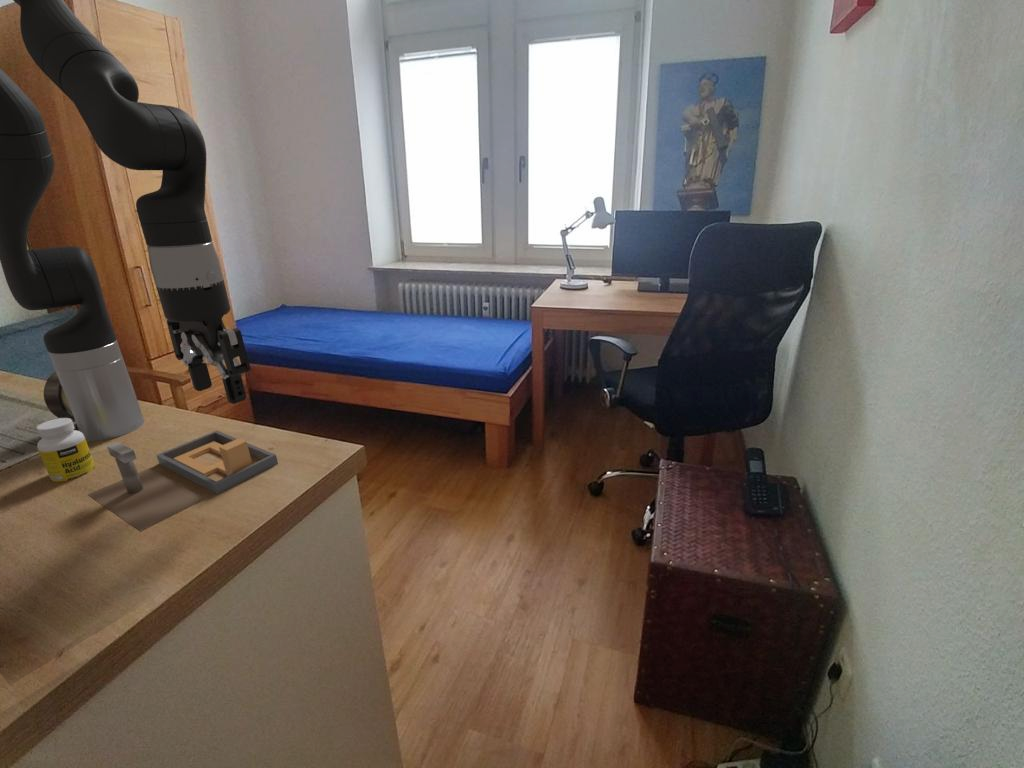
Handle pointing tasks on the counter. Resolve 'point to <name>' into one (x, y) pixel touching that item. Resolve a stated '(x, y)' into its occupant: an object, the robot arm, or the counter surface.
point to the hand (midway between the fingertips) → (220, 395)
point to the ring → (232, 460)
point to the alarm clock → (57, 399)
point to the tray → (216, 487)
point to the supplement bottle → (64, 450)
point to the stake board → (142, 493)
